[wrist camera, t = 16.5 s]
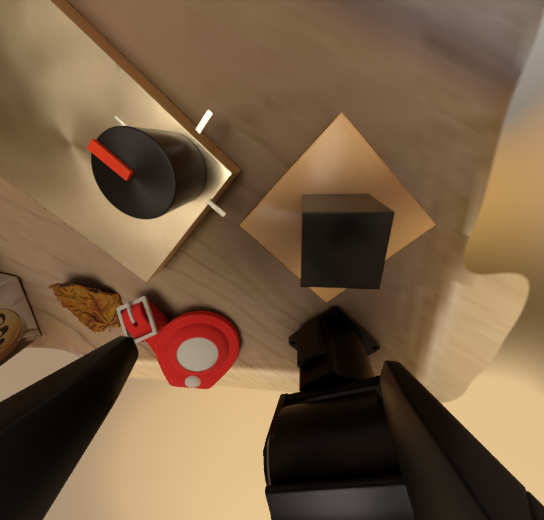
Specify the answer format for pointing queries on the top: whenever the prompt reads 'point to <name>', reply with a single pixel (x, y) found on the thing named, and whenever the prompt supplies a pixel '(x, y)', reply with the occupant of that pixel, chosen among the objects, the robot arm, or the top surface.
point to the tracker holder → (183, 342)
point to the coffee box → (14, 319)
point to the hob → (88, 130)
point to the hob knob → (146, 170)
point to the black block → (344, 240)
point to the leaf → (89, 305)
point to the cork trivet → (332, 180)
